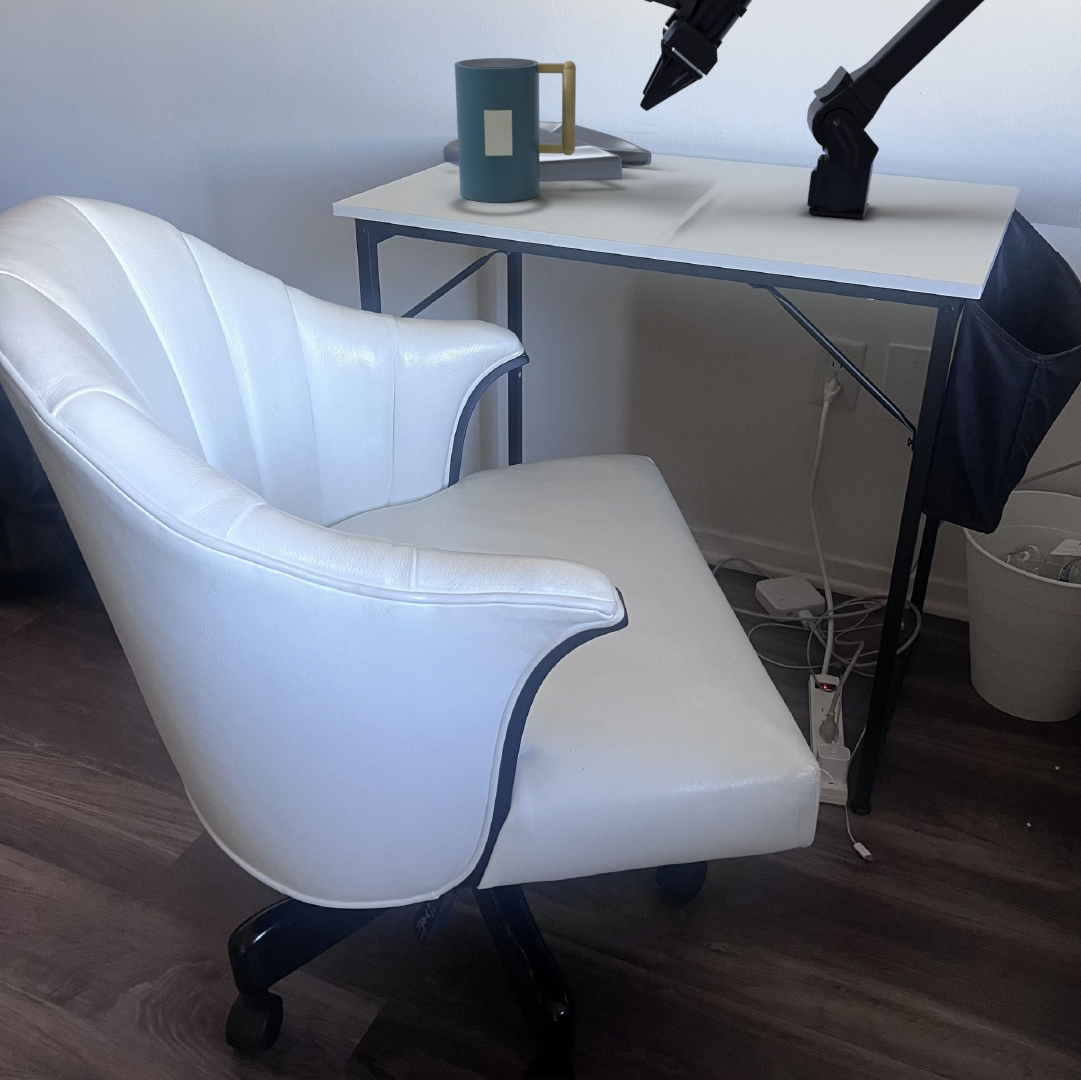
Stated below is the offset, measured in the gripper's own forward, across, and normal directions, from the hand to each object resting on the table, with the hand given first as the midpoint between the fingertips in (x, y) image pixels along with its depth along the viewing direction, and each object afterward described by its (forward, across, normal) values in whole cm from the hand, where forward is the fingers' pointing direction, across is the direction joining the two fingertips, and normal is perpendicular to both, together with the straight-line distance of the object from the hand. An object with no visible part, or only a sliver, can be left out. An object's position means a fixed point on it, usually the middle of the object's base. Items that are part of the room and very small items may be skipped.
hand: (644, 101), depth 123 cm
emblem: (+18, -20, -4) cm, 27 cm away
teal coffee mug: (+18, +1, -6) cm, 19 cm away
